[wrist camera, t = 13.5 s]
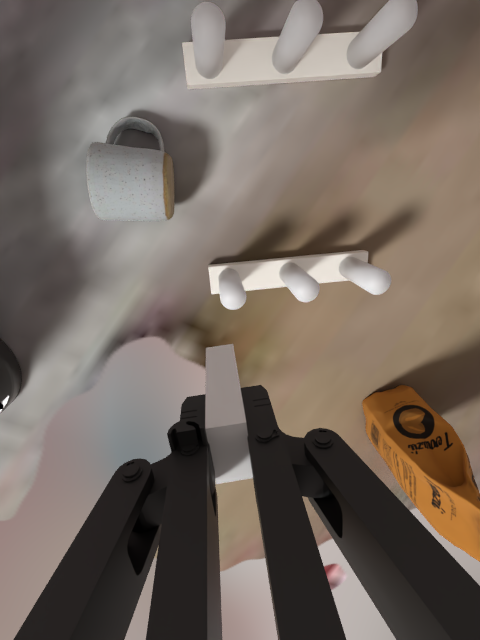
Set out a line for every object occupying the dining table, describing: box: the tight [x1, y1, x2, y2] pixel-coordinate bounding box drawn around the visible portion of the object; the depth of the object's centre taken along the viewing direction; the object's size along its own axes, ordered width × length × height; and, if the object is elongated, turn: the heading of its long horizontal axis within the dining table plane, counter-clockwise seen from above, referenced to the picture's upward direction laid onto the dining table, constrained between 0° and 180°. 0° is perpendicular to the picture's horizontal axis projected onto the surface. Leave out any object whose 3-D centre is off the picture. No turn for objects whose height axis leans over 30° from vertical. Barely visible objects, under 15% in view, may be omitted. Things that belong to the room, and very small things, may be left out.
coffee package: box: [362, 385, 480, 562], centre depth 44 cm, size 10×12×22 cm
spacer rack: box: [182, 0, 418, 310], centre depth 35 cm, size 21×27×10 cm
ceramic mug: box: [86, 117, 174, 221], centre depth 34 cm, size 11×8×8 cm
